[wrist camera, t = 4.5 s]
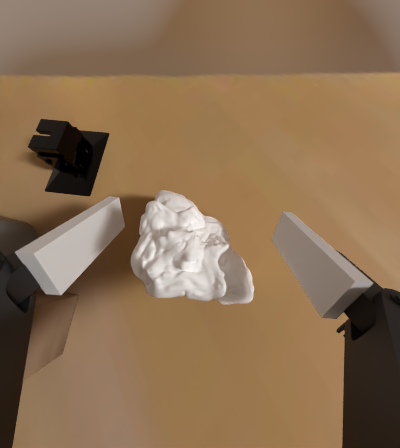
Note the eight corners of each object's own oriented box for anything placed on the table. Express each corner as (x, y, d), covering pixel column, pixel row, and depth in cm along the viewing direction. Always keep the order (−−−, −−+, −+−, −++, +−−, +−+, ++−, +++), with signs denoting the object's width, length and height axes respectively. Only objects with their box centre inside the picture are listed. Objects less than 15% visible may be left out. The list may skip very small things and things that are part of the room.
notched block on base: (70, 123, 21) (36, 86, 16) (121, 128, 21) (101, 92, 16) (38, 204, 18) (-15, 185, 13) (97, 210, 18) (64, 193, 13)
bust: (166, 216, 19) (55, 240, 10) (202, 170, 16) (86, 132, 6) (227, 290, 17) (166, 420, 7) (284, 256, 14) (308, 409, 4)
